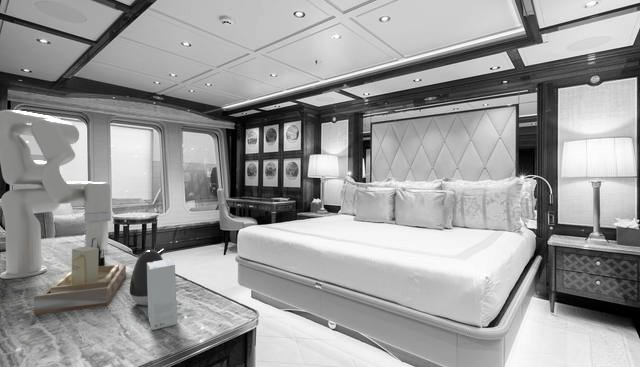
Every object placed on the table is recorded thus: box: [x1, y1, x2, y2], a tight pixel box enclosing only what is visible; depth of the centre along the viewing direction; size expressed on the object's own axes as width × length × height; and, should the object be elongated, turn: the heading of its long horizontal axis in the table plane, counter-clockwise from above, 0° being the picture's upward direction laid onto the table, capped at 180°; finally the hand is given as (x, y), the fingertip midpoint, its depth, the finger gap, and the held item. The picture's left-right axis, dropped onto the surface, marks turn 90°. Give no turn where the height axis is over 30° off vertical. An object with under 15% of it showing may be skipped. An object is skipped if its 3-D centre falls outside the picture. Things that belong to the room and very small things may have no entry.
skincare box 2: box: [147, 258, 178, 331], centre depth 78 cm, size 8×6×15 cm
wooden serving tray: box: [33, 264, 127, 316], centre depth 98 cm, size 29×16×5 cm, turn 23°
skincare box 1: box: [71, 245, 99, 284], centre depth 96 cm, size 6×4×12 cm
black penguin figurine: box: [129, 248, 166, 307], centre depth 91 cm, size 10×10×15 cm
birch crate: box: [49, 263, 120, 293], centre depth 100 cm, size 20×13×4 cm, turn 23°
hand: (98, 268), depth 110 cm, fingers closed
